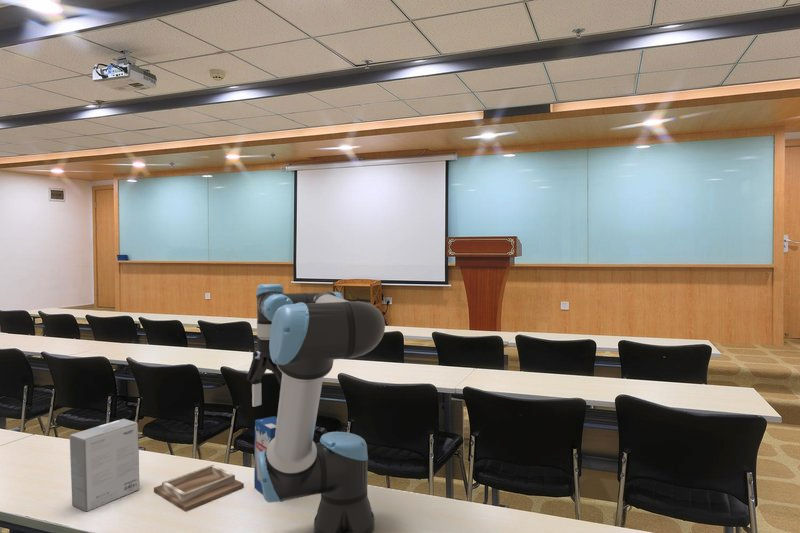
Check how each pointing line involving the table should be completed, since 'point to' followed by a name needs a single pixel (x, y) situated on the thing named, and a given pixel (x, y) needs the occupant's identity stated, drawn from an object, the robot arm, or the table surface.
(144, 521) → the table surface
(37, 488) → the table surface
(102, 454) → the hard drive box
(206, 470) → the walnut board
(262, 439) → the milk carton
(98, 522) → the table surface
